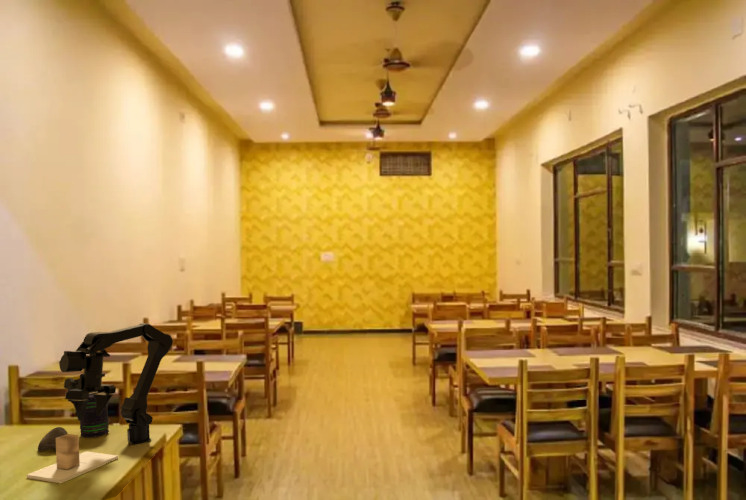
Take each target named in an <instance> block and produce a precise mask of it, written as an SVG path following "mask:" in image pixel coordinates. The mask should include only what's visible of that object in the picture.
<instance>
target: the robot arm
mask: <svg viewBox="0 0 746 500" xmlns="http://www.w3.org/2000/svg"><path fill="white" fill-rule="evenodd" d="M138 337H142V338H143V339H144V340H145V341H146V342H147V343H148V344H147V357H146V360H145V362H144V366H143V368H142V370H141V373H140V375H139V378H138V379H137V384H136V385H135V388H134V390H133V393H132V394H131V396H128V397H126V396H125V397H124V399H123V402H122V405H121V406H120V410H121V411H120V415H121V417H122V418H123V419H124V420H125V422H126V424H128V428H127V430H126V431H127V434H126V435H127V436H126V437H127V441H128V442H129V443H130V444H131V445H137V444H141V443H146V442H151V441H152V438H150V435H151V434H150V425H151V424H152V422H153V419H154V418H153V416H151V415H150V414H149V413H148V412H147V409H148V395H149V392H150V390H151V388H152V385H153V383H154V380H155V377H156V375H157V372H158V369H159V366H160V364H161V361H162V359H163V358H164V357H165V356H166V355H168V354H169V351H170V349H171V348H172V347H173V344H174V340H173V338H172V336H171V335H170V334H167V333H164V332H163V331H161V330H159V329H158V328H156V327H154V326H152V324H149V323H139V324H137V325H133V326H127V327H124V328H120V329H116V330H112V331H96V332H89V333H87V334H86V335H85V336H84V337H83V340H82V342H81V343H80V345H78V347H77V349H76V350H74V351H71V350H64V351H63V355H62V356H61V358H60V360H59V364H58V365H59V370H60V371H61V372H62V373H77V372H79V373H80V372H82V371H83V373H80V375H79V378H77V379H74V378H73V377H70V378H69V377H68V378H66V379H64V384H63V388H64V389H65V390H67V391H66V392H65V393H64V394H65V396H64V399H65V400H67V402H70V403H71V404H72V405H73V406H74V410H75V413H76V416H77V420H78V421H79V422H80V421H82V419H83V417H84V414H85V411H86V408H87V405H88V402H89V400H86V399H88V397H89V395H94V397H95V399H96V416H100V415H101V413H102V411H103V409H104V408H105V406H106V404H107V403H108V404H109V401H110V400H111V398H112V397H113V396H114V394H116V393H117V392H116V390H117V389H116V388H117V387H116V386H115V385H114V384H106V383H105V384H104V383H103V382H102V380H103V378H104V377H106V373H103V372H104V371H103V370H104V369H103V367H104V358H110V357H111V354H110V353H108V351H107V349H109V348H110V347H112V346H113V345H115V344H117V343H120V342H124V341H127V340H130V339H135V338H138Z"/></svg>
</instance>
